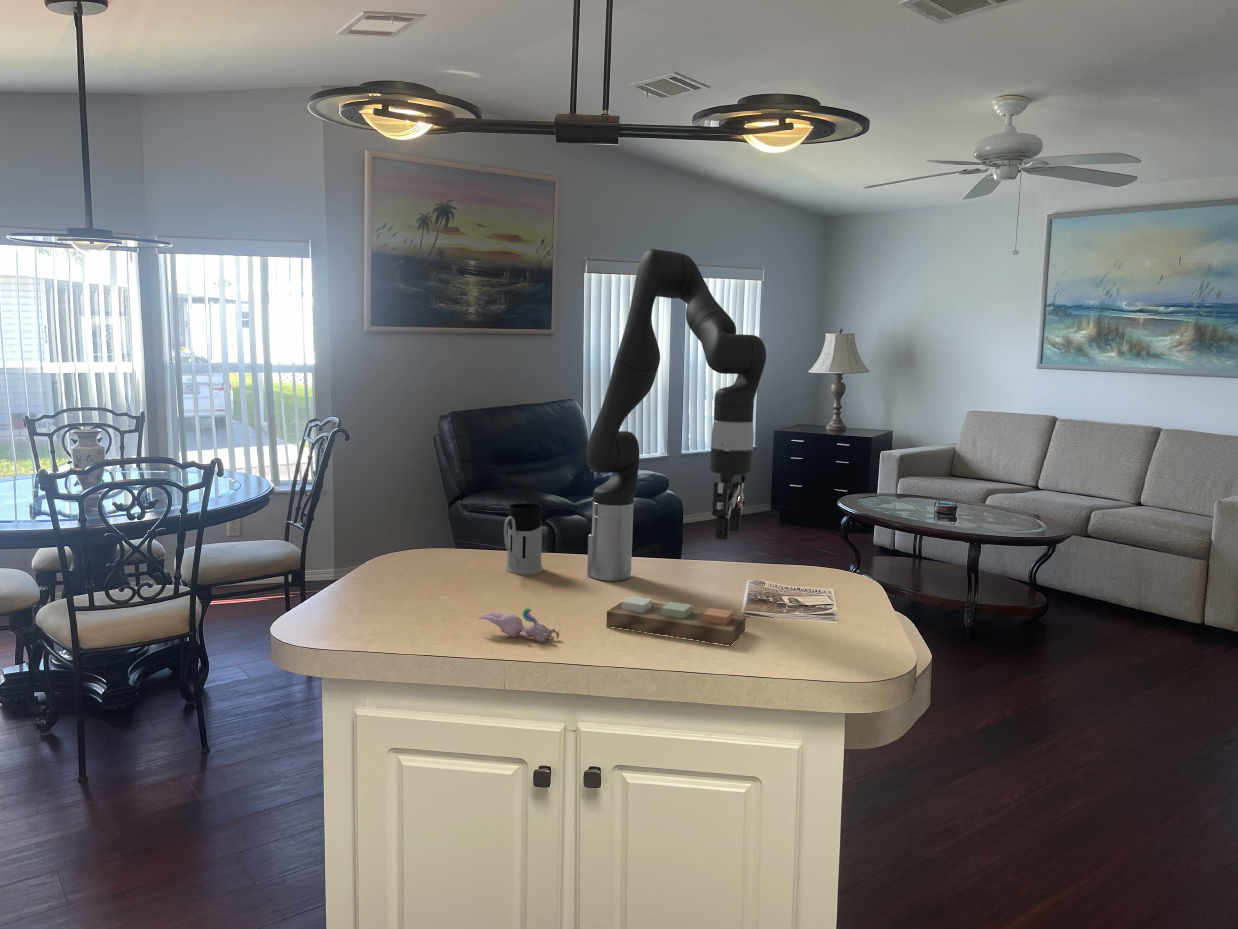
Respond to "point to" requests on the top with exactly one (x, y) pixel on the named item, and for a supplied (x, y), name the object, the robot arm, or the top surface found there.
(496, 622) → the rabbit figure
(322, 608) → the top surface
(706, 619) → the terracotta button
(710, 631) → the button panel
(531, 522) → the glass holder
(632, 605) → the offwhite button
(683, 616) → the sage button
